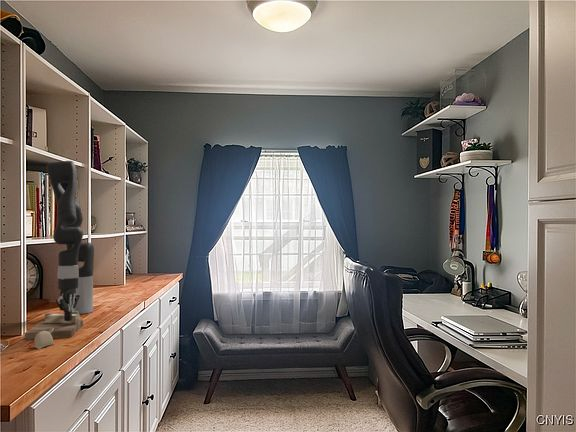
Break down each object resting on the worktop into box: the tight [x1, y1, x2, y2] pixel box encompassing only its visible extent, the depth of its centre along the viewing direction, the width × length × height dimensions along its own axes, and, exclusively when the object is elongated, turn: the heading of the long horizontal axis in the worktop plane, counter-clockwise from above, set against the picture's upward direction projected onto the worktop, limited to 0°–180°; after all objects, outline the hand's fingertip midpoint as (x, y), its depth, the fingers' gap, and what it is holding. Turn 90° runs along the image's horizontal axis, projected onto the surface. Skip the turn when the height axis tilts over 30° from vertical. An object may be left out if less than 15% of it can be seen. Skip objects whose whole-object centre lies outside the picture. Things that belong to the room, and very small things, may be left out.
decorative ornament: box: [33, 328, 56, 350], centre depth 159 cm, size 4×8×5 cm, turn 158°
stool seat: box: [24, 311, 84, 341], centre depth 178 cm, size 20×16×6 cm
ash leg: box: [44, 312, 81, 323], centre depth 183 cm, size 14×3×3 cm, turn 83°
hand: (68, 320), depth 179 cm, fingers closed
